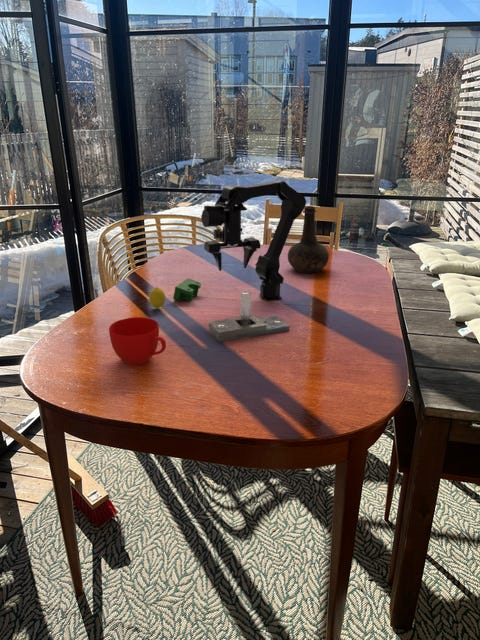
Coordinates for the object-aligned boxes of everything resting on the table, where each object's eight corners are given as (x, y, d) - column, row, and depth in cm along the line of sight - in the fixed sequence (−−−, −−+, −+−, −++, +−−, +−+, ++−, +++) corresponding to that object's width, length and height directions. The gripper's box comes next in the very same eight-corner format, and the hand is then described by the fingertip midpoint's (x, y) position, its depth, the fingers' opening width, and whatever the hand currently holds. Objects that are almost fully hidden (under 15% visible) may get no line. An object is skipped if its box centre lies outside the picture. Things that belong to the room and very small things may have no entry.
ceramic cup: (149, 380, 118) (146, 343, 115) (102, 363, 127) (98, 329, 123) (182, 360, 129) (180, 326, 125) (136, 345, 137) (133, 313, 133)
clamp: (187, 312, 174) (188, 295, 167) (173, 306, 175) (173, 289, 169) (201, 292, 182) (202, 274, 175) (187, 286, 183) (188, 269, 176)
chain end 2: (276, 320, 156) (276, 315, 155) (289, 330, 148) (289, 325, 147) (225, 328, 149) (225, 323, 149) (235, 339, 142) (235, 333, 141)
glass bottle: (333, 268, 213) (338, 205, 203) (317, 278, 200) (322, 211, 189) (297, 263, 222) (301, 202, 212) (280, 272, 208) (282, 207, 198)
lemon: (169, 307, 166) (167, 286, 163) (160, 312, 161) (158, 290, 158) (155, 305, 168) (154, 283, 165) (146, 310, 164) (145, 288, 161)
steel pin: (248, 328, 149) (248, 290, 145) (252, 332, 146) (252, 294, 142) (238, 329, 148) (239, 292, 143) (242, 333, 145) (243, 295, 141)
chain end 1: (254, 323, 153) (254, 314, 152) (266, 334, 145) (266, 324, 144) (208, 330, 147) (208, 321, 146) (218, 341, 140) (218, 331, 139)
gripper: (248, 218, 169) (248, 261, 175) (198, 222, 162) (199, 266, 168) (261, 224, 159) (260, 269, 165) (209, 228, 153) (209, 274, 159)
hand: (232, 269), depth 165 cm, fingers open, 9 cm apart
